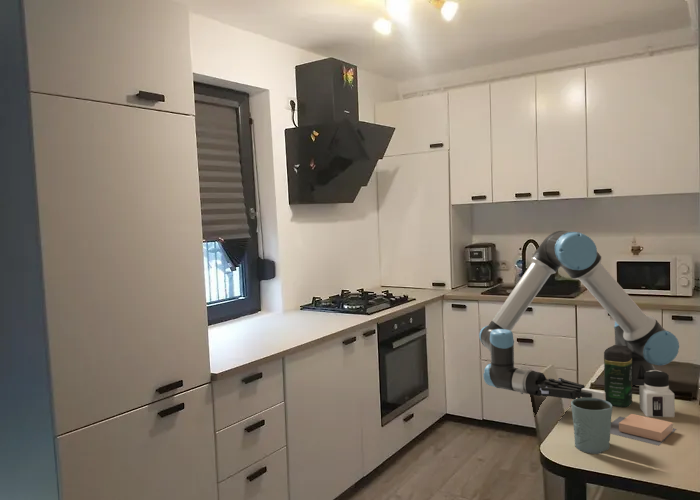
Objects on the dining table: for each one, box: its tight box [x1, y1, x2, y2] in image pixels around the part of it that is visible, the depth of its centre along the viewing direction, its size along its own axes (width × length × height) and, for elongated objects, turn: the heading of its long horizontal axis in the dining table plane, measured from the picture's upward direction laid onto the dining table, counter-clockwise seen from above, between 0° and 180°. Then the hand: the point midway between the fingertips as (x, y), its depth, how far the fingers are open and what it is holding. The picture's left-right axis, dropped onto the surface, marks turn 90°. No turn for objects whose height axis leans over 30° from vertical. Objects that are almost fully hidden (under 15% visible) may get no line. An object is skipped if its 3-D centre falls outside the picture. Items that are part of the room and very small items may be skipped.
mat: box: [610, 416, 677, 446], centre depth 163 cm, size 14×16×1 cm
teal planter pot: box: [570, 397, 613, 455], centre depth 155 cm, size 10×10×12 cm
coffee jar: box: [603, 344, 633, 408], centre depth 185 cm, size 10×8×19 cm
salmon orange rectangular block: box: [619, 413, 674, 441], centre depth 162 cm, size 9×3×11 cm
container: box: [638, 369, 676, 418], centre depth 175 cm, size 8×8×13 cm
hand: (604, 397), depth 169 cm, fingers closed
